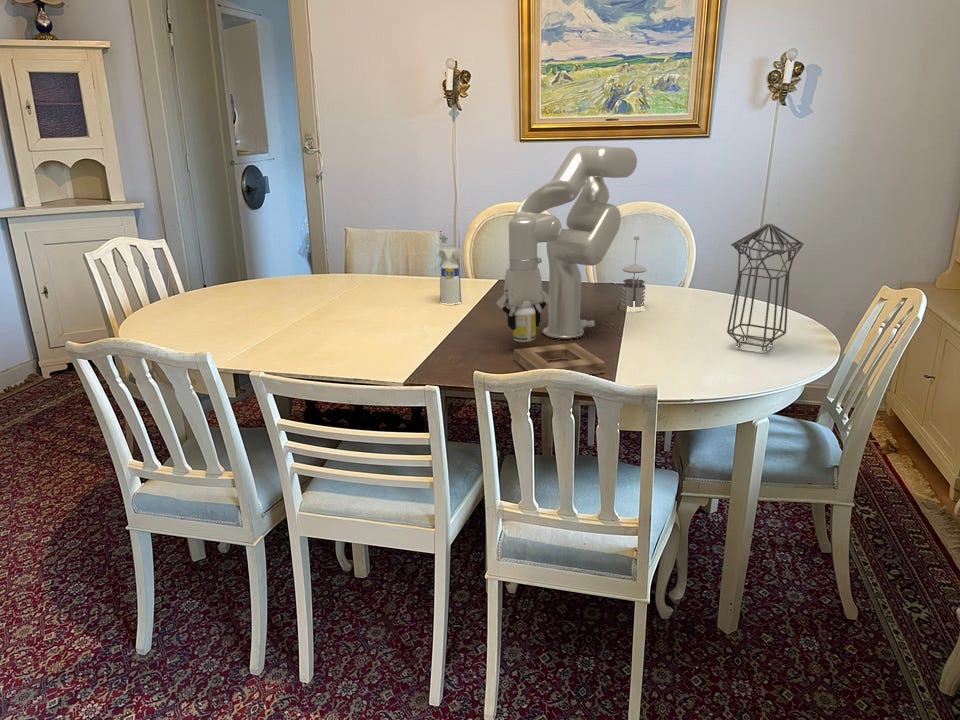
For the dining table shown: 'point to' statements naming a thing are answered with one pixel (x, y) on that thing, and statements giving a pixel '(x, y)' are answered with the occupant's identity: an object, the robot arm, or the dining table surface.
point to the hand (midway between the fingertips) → (524, 326)
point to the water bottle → (450, 274)
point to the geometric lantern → (781, 251)
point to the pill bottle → (525, 323)
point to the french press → (633, 285)
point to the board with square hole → (577, 354)
